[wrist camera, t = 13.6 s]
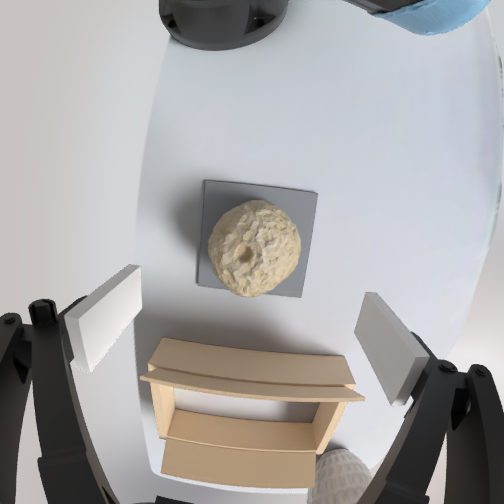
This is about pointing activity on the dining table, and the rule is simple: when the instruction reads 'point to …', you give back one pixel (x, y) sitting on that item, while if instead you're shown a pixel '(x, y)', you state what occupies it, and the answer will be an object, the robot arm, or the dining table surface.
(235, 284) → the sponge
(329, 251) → the dining table surface
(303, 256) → the mat
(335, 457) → the vase
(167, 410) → the carton
